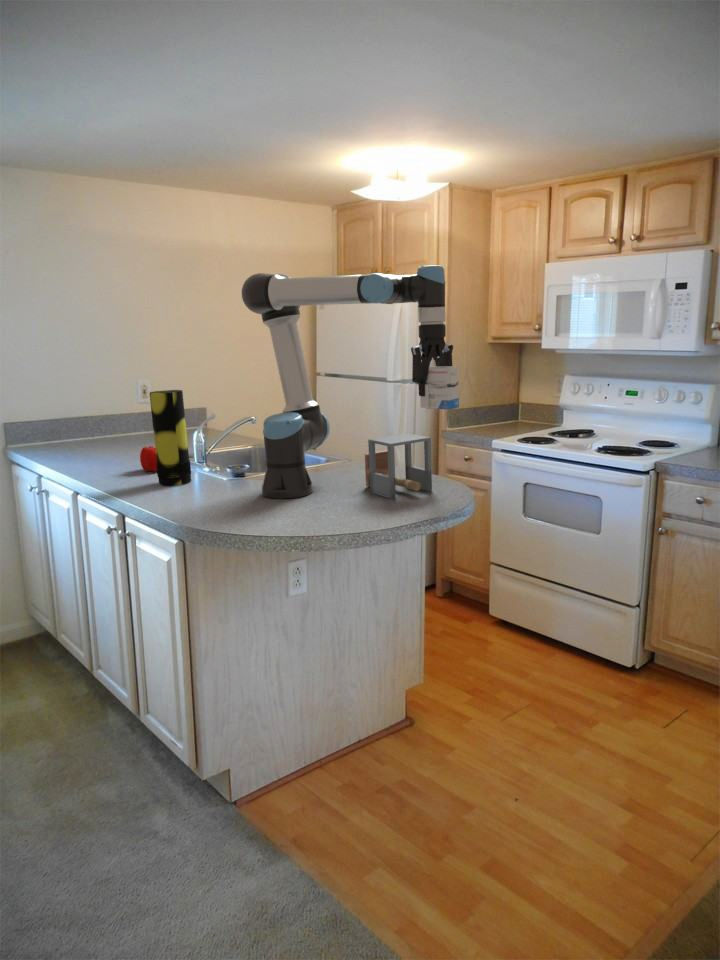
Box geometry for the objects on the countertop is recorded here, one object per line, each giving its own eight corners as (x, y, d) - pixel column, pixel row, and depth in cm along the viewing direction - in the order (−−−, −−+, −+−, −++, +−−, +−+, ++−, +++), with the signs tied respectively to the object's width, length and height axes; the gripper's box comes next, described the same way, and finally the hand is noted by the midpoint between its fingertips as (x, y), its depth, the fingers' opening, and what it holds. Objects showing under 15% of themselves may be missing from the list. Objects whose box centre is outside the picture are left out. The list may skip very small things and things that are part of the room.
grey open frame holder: (370, 492, 208) (368, 439, 205) (408, 484, 216) (407, 433, 212) (392, 498, 199) (390, 443, 196) (431, 490, 207) (430, 437, 203)
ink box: (459, 407, 199) (459, 365, 196) (451, 410, 195) (450, 366, 192) (433, 406, 204) (432, 365, 201) (424, 408, 200) (423, 366, 197)
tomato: (171, 466, 261) (168, 442, 259) (173, 472, 249) (170, 447, 247) (141, 469, 257) (138, 444, 255) (142, 475, 246) (139, 449, 244)
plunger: (366, 486, 214) (364, 453, 212) (389, 481, 219) (388, 449, 217) (405, 497, 198) (404, 463, 196) (429, 492, 203) (429, 458, 201)
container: (195, 478, 237) (186, 389, 231) (188, 485, 227) (179, 392, 220) (163, 479, 237) (153, 390, 231) (154, 487, 227) (144, 394, 220)
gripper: (448, 322, 204) (449, 402, 209) (397, 325, 194) (399, 408, 199) (466, 322, 198) (466, 404, 203) (413, 324, 188) (415, 410, 193)
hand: (433, 406), depth 201 cm, fingers closed on ink box, 6 cm apart
